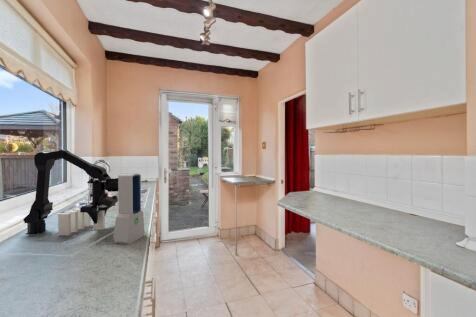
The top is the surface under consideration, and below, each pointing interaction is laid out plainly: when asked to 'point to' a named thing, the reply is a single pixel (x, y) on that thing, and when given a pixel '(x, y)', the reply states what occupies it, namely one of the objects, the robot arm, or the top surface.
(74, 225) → the domino
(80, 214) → the domino
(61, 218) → the domino
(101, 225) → the domino
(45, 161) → the robot arm
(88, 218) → the domino
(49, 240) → the rubber mat
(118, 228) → the electronic device
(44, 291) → the top surface
